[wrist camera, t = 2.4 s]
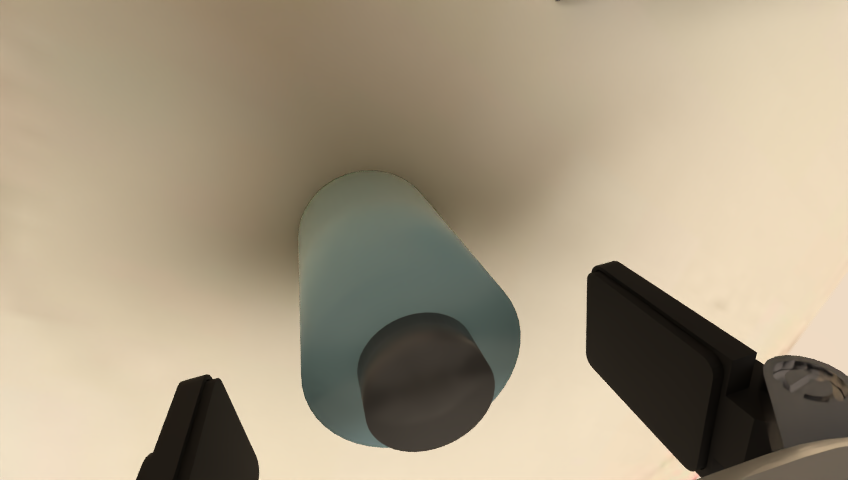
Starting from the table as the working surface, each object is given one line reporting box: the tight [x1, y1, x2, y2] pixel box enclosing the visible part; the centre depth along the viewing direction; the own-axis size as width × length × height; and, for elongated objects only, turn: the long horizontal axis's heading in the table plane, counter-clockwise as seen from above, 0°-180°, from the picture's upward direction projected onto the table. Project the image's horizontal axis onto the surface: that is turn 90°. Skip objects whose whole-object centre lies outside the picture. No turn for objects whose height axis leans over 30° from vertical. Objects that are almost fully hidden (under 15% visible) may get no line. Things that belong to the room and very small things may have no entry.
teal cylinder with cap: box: [298, 171, 520, 452], centre depth 13 cm, size 5×5×9 cm
